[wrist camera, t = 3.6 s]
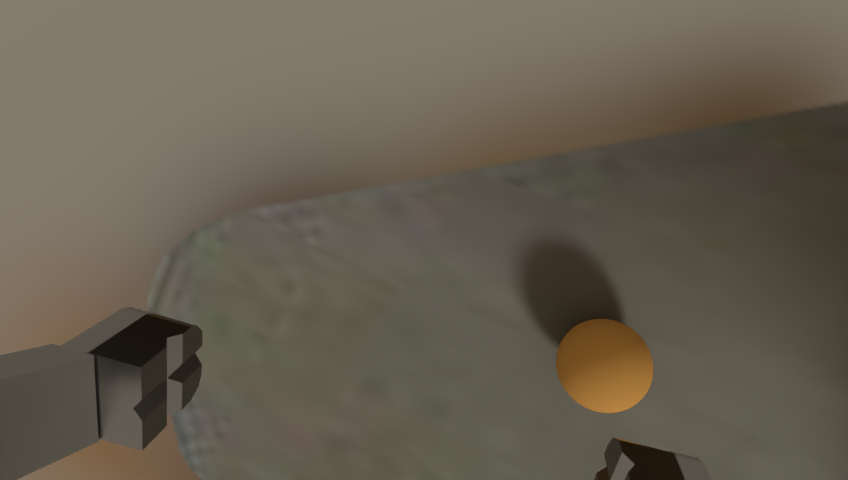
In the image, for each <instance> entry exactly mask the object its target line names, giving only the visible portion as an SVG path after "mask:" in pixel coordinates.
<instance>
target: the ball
mask: <svg viewBox="0 0 848 480" xmlns="http://www.w3.org/2000/svg"><path fill="white" fill-rule="evenodd" d="M556 367H557V373H558V377H559V379H560V382H561V384H562V386H563V387H564V389H565V390H566V392H567V393H568V394H569V395H570V396H571V397H572V398H573V399H574V400H575V401H576V402H577V403H579V404H580V405H582V406H584V407H586V408H588V409H590V410H593V411H597V412H602V413H615V412H620V411H624V410H627V409H629V408H631V407H633V406H634V405H636V404H637V403H638V402H639V401H640V400H641V399H642V398H643V397H644V396H645V395H646V393H647V391H648V390H649V387H650V385H651V382H652V378H653V361H652V357H651V354H650V351H649V349H648V347H647V345H646V344H645V342H644V341H643V339H642V338H641V337H640V336H639V335H638V334H637V333H636V332H635V331H634V330H632V329H631V328H630V327H628V326H626V325H625V324H622V323H620V322H617V321H614V320H610V319H592V320H588V321H584V322H582V323H580V324H578V325H576V326H575V327H573V328H572V329H571V330H570V331H569V332H568V333H567V334H566V335H565V336H564V338H563V339H562V341H561V343H560V345H559V348H558V351H557V357H556Z"/></svg>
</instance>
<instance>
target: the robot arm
mask: <svg viewBox="0 0 848 480" xmlns="http://www.w3.org/2000/svg"><path fill="white" fill-rule="evenodd" d="M201 346H202V330H201V329H200V328H199V327H198V326H196V325H192V324H189V323H185V322H182V321H179V320H175V319H172V318H168V317H165V316H161V315H158V314H155V313H150V312H147V311H143V310H140V309H136V308H132V307H126V308H122V309H120V310H119V311H117V312H115V313H114V314H112V315H110V316H109V317H107V318H105V319H104V320H102V321H101V322H99V323H97V324H96V325H94V326H92V327H91V328H89V329H87V330H86V331H84V332H82V333H81V334H79V335H78V336H76V337H74V338H73V339H71V340H69V341H68V342H66V343H64V344H63V345H61V346H59V345H55V344H50V345H45V346H41V347H37V348H32V349H28V350H22V351H18V352H13V353H8V354H4V355H0V480H17V479H19V478H21V477H23V476H25V475H28V474H30V473H32V472H34V471H36V470H38V469H41V468H43V467H45V466H47V465H49V464H51V463H53V462H56V461H57V460H60V459H62V458H64V457H66V456H68V455H71V454H73V453H75V452H77V451H79V450H81V449H83V448H86V447H88V446H90V445H92V444H94V443H96V442H98V441H99V439H101V440H105V441H109V442H113V443H116V444H120V445H124V446H128V447H132V448H135V449H139V450H143V449H144V448H145V447H146V446H147V445H148V444H149V443H150V442H151V441H152V440H153V439H154V438H155V437H156V436H157V435H158V434H159V433H160V432H161V431H162V430H163V429H164V428H165V427H166V425H167V415H170V414H173V413H176V412H178V411H181V410H182V409H183V408H184V407H185V406H186V405H187V404H188V403H189V402H190V401H191V399H192V397H193V395H194V394H195V392H196V390H197V388H198V386H199V382H200V378H201V370H202V364H201V362H200V361H199V359H198V357H197V355H196V354H195V352H196V351H197V350H198V349H199V348H200V347H201ZM604 456H605V460H606V465H607V467H606V468H604V469H602V470H600V471H599V472H597V473H596V476H595V479H594V480H712V479H711V477H710V475H709V473H708V471H707V468H706V466H705V464H704V463H703V462H702V461H701V460H700V459H699V458H697V457H693V456H689V455H684V454H680V453H676V452H672V451H669V452H668V451H664V450H660V449H656V448H652V447H649V446H645V445H641V444H637V443H633V442H629V441H625V440H622V439H618V438H614V437H613V438H612V440H611V441H610V442H609V444H608V446H607V448H606V451H605V453H604Z"/></svg>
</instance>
